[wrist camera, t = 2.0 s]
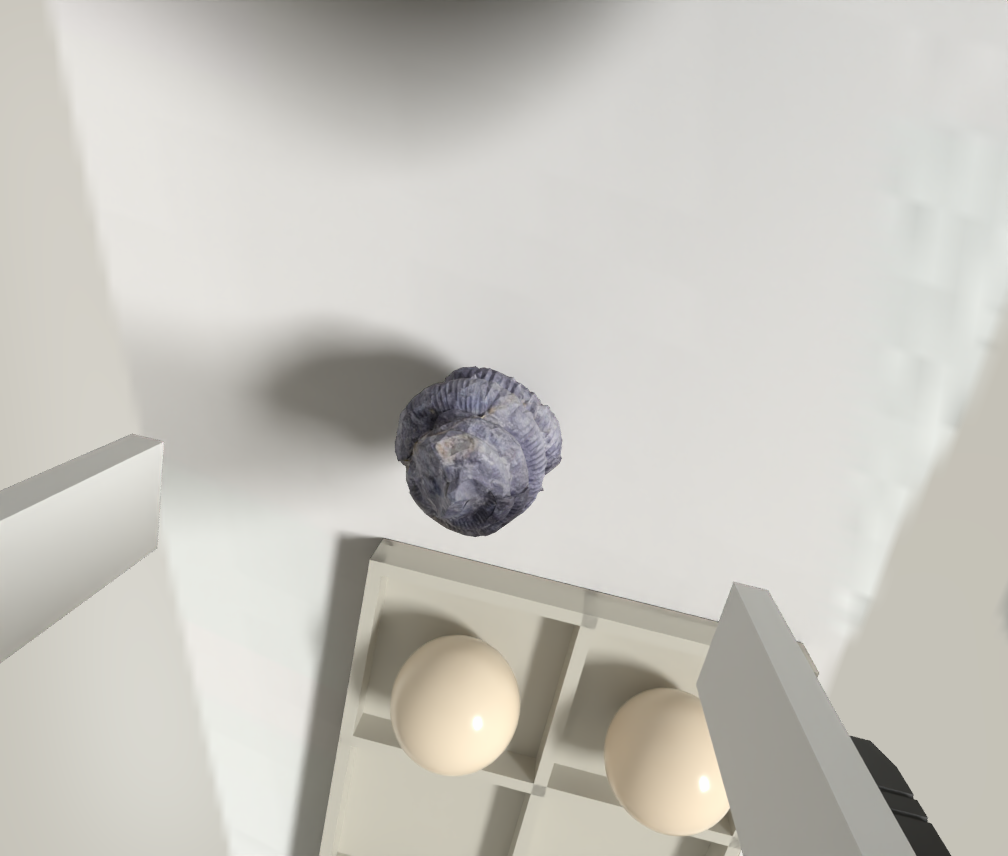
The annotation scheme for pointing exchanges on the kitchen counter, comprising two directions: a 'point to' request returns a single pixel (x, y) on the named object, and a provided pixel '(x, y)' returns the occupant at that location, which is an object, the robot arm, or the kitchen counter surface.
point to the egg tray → (542, 721)
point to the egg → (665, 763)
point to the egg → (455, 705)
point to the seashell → (476, 449)
